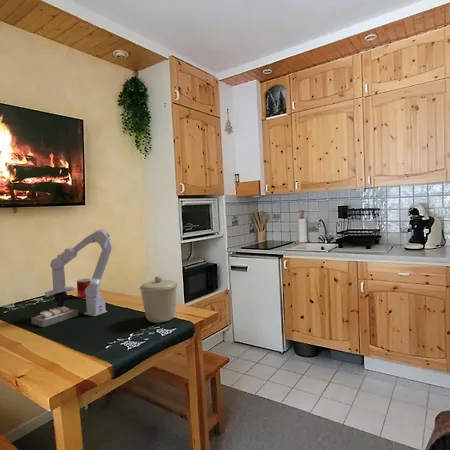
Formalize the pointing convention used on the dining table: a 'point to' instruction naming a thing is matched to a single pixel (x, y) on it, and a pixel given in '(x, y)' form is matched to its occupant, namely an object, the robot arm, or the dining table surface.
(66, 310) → the switch
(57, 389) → the dining table surface
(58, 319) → the switch unit
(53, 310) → the switch
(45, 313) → the switch
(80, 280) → the canned food
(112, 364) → the dining table surface
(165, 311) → the canister
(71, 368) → the dining table surface
